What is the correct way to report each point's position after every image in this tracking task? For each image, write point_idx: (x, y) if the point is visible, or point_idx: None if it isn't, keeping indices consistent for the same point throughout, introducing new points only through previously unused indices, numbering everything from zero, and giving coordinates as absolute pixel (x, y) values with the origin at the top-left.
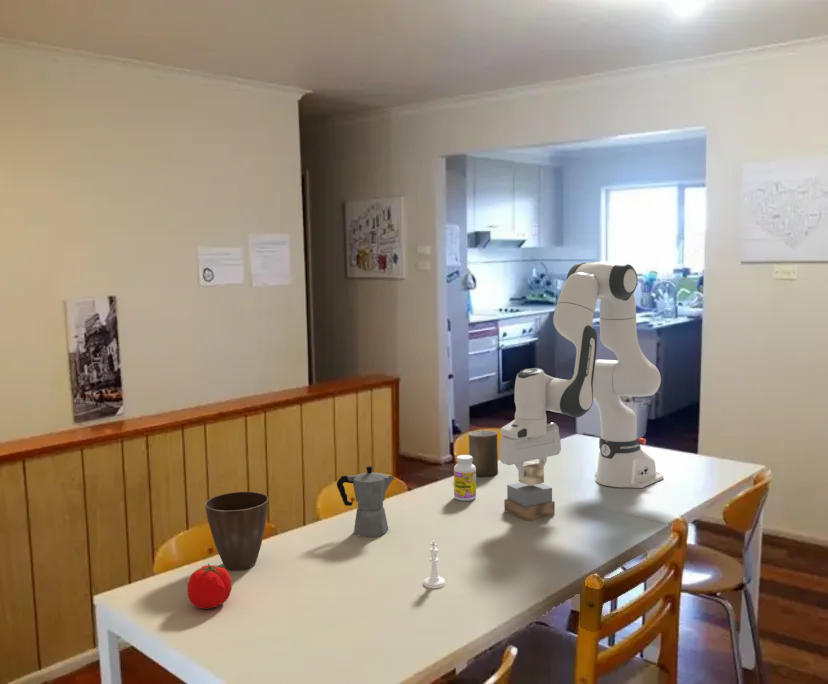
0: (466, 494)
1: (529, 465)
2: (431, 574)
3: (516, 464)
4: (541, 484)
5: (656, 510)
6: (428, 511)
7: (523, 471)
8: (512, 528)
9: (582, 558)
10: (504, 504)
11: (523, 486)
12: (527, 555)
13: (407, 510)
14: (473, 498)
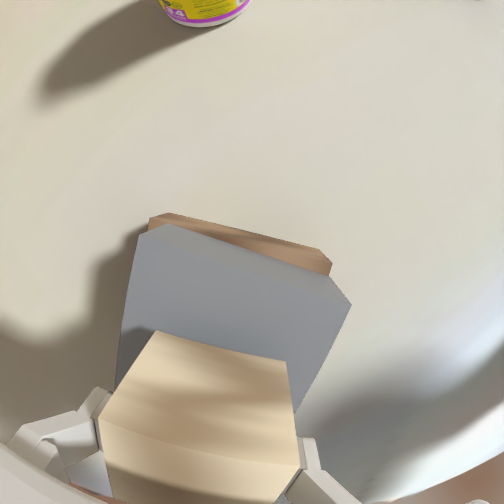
0: (168, 10)
1: (161, 489)
2: None
3: (24, 441)
4: (294, 392)
5: (418, 473)
6: (40, 41)
7: (90, 446)
8: (73, 335)
9: (99, 480)
10: (158, 216)
11: (187, 338)
12: (30, 414)
13: (32, 12)
14: (204, 26)
